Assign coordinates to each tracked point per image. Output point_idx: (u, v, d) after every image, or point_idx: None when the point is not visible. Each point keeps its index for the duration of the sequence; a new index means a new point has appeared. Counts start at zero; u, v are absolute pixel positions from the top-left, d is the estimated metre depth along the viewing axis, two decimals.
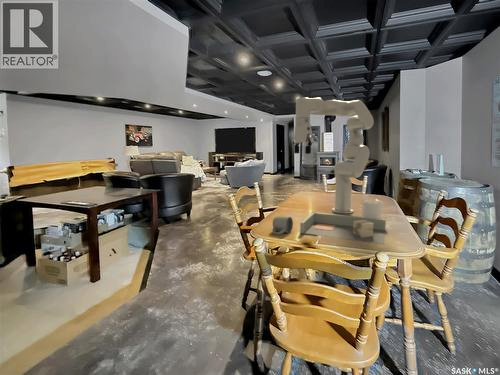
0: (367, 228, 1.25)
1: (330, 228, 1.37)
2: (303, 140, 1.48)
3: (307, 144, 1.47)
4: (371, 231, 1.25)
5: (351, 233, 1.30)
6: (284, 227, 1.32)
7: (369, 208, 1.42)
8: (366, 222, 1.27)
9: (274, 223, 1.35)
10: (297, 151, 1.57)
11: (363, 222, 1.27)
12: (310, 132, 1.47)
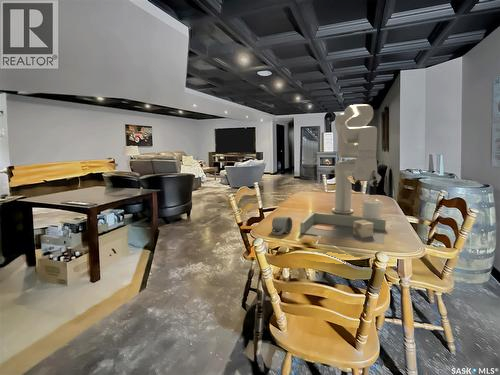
0: (367, 228, 1.25)
1: (330, 228, 1.37)
2: None
3: None
4: (371, 231, 1.25)
5: (351, 233, 1.30)
6: (283, 227, 1.31)
7: (369, 208, 1.42)
8: (366, 222, 1.27)
9: (273, 223, 1.35)
10: None
11: (363, 222, 1.27)
12: None
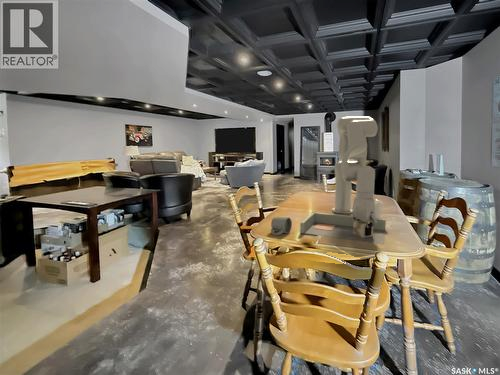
0: None
1: (330, 228, 1.37)
2: None
3: None
4: None
5: (351, 233, 1.30)
6: (283, 228, 1.31)
7: None
8: None
9: (273, 224, 1.34)
10: None
11: (363, 222, 1.27)
12: None
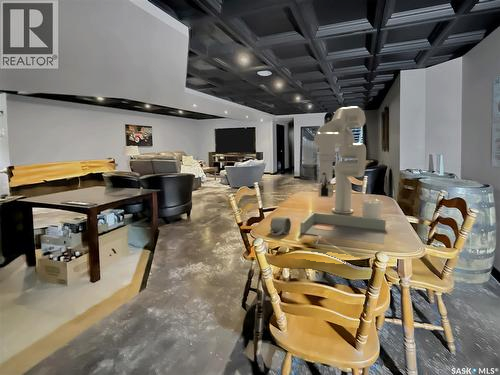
0: None
1: (330, 228, 1.37)
2: (331, 178, 1.39)
3: None
4: (329, 192, 1.34)
5: (351, 233, 1.30)
6: (282, 228, 1.30)
7: (369, 208, 1.42)
8: None
9: (272, 224, 1.33)
10: None
11: None
12: None
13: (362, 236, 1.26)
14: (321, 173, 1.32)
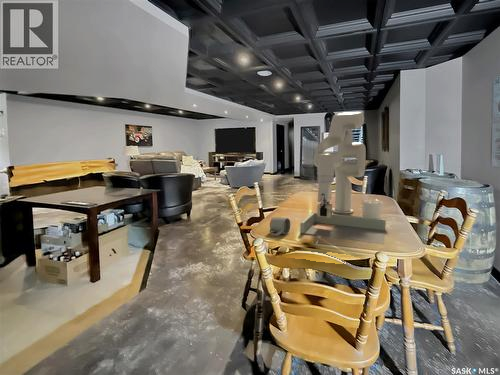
0: None
1: (330, 228, 1.37)
2: (330, 198, 1.40)
3: None
4: (327, 213, 1.35)
5: (351, 233, 1.30)
6: (281, 228, 1.30)
7: (369, 208, 1.42)
8: None
9: (271, 224, 1.33)
10: None
11: None
12: None
13: (362, 236, 1.26)
14: (320, 194, 1.34)
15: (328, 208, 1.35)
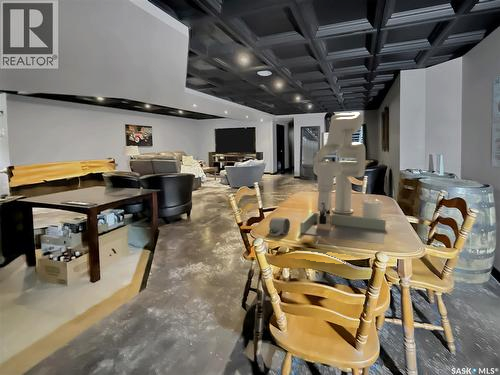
0: None
1: (330, 228, 1.37)
2: (330, 206, 1.41)
3: None
4: (327, 224, 1.36)
5: (351, 233, 1.30)
6: (281, 229, 1.29)
7: (369, 208, 1.42)
8: (326, 215, 1.38)
9: (271, 225, 1.33)
10: None
11: None
12: None
13: (362, 236, 1.26)
14: (320, 203, 1.35)
15: (328, 219, 1.36)
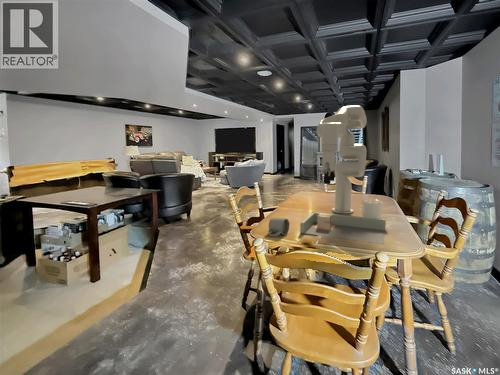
0: (323, 220, 1.37)
1: (330, 228, 1.37)
2: (334, 167, 1.41)
3: None
4: (327, 224, 1.36)
5: (351, 233, 1.30)
6: (280, 229, 1.29)
7: (369, 208, 1.42)
8: (326, 215, 1.38)
9: (270, 225, 1.32)
10: None
11: (323, 215, 1.39)
12: None
13: (362, 236, 1.26)
14: (324, 163, 1.35)
15: (328, 219, 1.36)
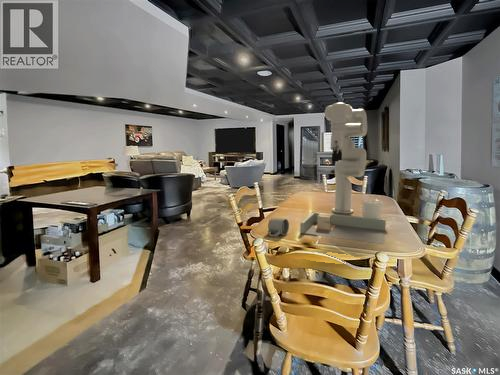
0: (323, 220, 1.37)
1: (330, 228, 1.37)
2: (342, 147, 1.48)
3: None
4: (327, 224, 1.36)
5: (351, 233, 1.30)
6: (280, 229, 1.28)
7: (369, 208, 1.42)
8: (326, 215, 1.38)
9: (269, 225, 1.32)
10: None
11: (323, 215, 1.39)
12: None
13: (362, 236, 1.26)
14: (333, 141, 1.41)
15: (328, 219, 1.36)
